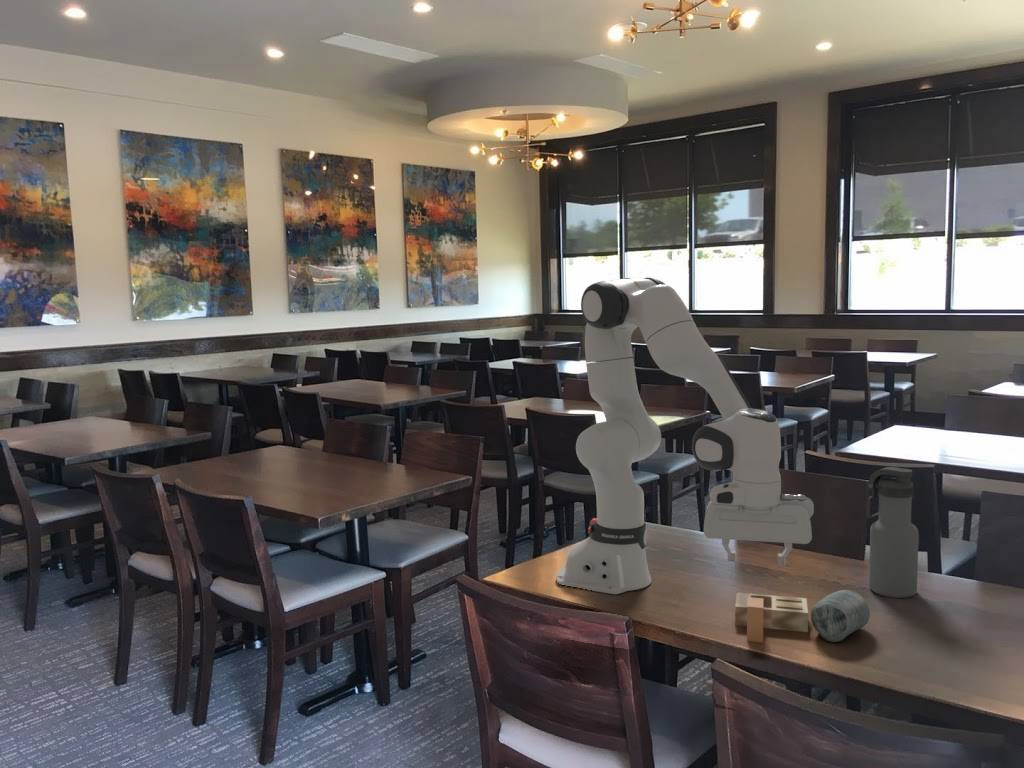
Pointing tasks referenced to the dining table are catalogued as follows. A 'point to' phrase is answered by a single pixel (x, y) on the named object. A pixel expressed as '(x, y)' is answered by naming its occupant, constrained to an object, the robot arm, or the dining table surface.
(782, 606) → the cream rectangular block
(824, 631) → the spool
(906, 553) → the water bottle
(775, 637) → the dining table surface
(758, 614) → the orange rectangular block
